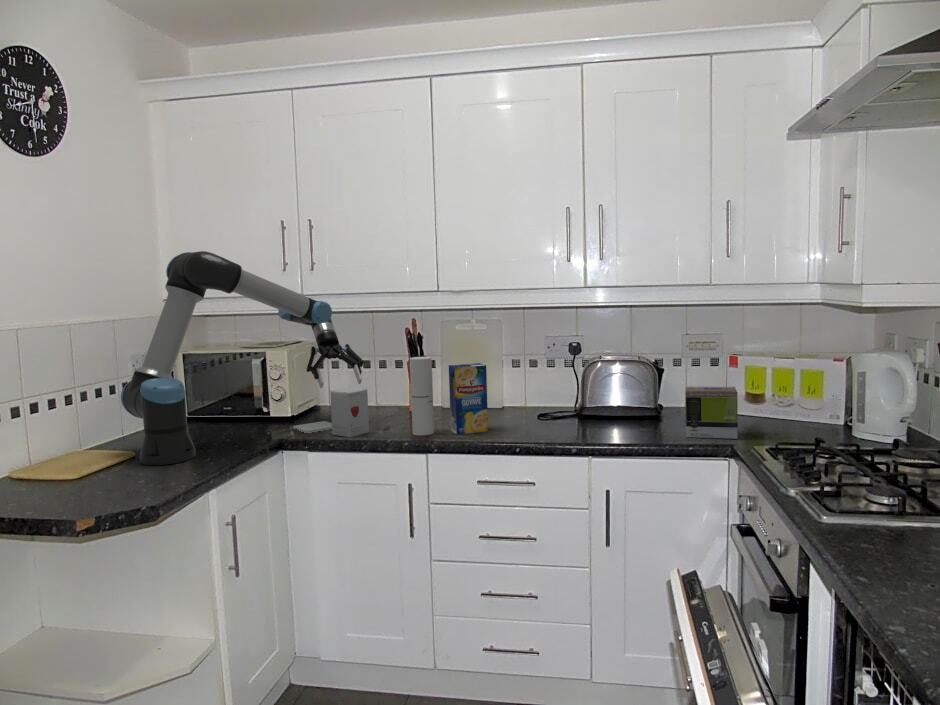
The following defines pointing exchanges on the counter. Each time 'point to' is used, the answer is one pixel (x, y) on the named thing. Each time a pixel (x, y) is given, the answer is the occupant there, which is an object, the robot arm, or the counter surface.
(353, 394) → the supplement box
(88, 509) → the counter surface
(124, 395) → the robot arm
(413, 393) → the cylindrical container
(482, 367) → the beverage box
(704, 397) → the tea box
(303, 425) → the pad
